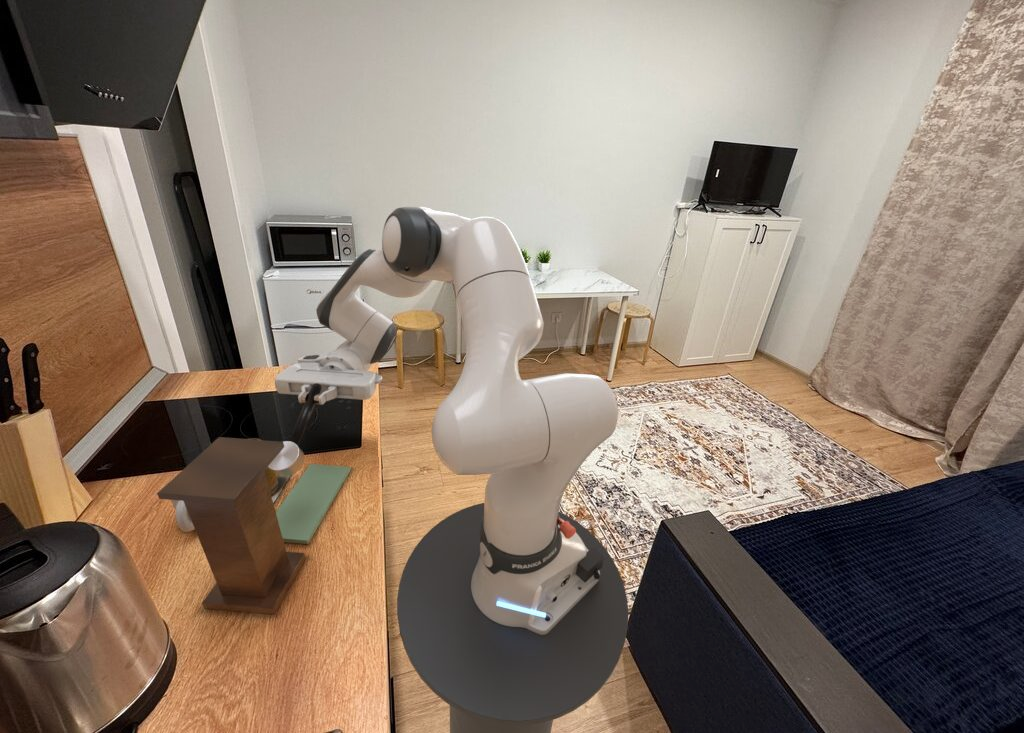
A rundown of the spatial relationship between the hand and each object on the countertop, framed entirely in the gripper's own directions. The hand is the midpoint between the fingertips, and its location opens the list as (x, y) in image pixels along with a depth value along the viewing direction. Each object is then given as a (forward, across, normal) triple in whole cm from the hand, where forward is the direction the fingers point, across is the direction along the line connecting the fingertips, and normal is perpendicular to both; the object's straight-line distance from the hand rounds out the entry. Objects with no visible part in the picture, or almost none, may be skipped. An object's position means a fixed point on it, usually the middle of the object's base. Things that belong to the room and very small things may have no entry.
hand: (309, 400), depth 82 cm
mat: (+6, 0, -20) cm, 21 cm away
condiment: (+3, +11, -20) cm, 23 cm away
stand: (+23, 0, -21) cm, 31 cm away
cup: (+13, +17, -21) cm, 30 cm away
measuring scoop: (+4, 0, -4) cm, 6 cm away
